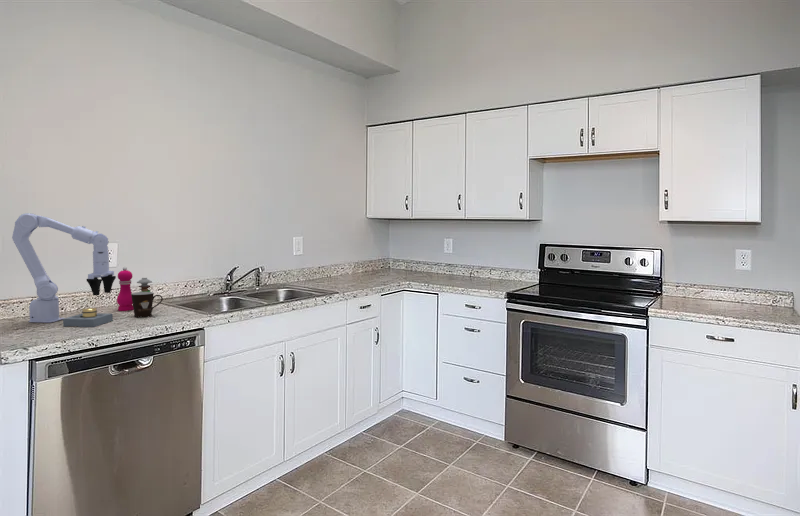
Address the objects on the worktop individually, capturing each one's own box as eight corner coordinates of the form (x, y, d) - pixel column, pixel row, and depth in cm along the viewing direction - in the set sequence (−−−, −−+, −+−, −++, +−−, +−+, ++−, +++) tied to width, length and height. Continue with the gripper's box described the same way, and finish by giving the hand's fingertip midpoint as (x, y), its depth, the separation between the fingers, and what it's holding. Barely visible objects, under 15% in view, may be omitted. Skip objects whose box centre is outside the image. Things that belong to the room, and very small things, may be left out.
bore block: (63, 326, 188) (63, 318, 188) (84, 320, 200) (83, 313, 200) (93, 327, 188) (93, 319, 188) (112, 320, 200) (112, 313, 200)
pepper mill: (130, 307, 230) (129, 265, 228) (137, 309, 225) (136, 266, 224) (114, 309, 224) (113, 266, 223) (120, 311, 220) (119, 267, 218)
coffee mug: (129, 318, 206) (128, 294, 205) (134, 314, 214) (134, 292, 213) (159, 317, 209) (158, 294, 208) (163, 313, 217) (163, 291, 216)
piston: (79, 324, 192) (79, 309, 192) (87, 322, 197) (87, 307, 197) (92, 324, 192) (91, 309, 192) (100, 322, 197) (99, 307, 196)
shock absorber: (147, 308, 229) (146, 276, 228) (155, 309, 226) (155, 277, 225) (134, 310, 223) (133, 278, 222) (143, 311, 220) (142, 279, 219)
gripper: (99, 263, 199) (100, 296, 200) (120, 261, 213) (121, 291, 214) (82, 263, 199) (83, 296, 200) (104, 260, 213) (105, 291, 214)
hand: (102, 294), depth 207 cm, fingers open, 7 cm apart
